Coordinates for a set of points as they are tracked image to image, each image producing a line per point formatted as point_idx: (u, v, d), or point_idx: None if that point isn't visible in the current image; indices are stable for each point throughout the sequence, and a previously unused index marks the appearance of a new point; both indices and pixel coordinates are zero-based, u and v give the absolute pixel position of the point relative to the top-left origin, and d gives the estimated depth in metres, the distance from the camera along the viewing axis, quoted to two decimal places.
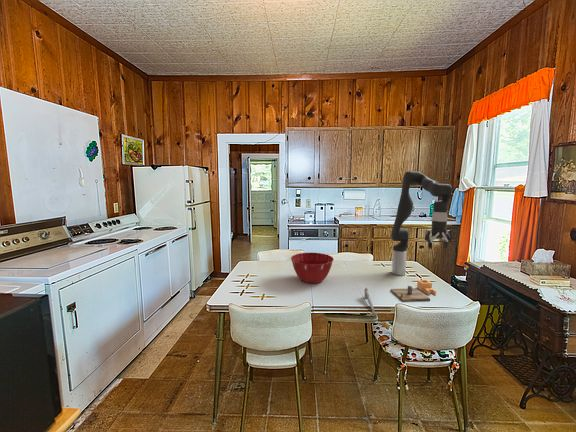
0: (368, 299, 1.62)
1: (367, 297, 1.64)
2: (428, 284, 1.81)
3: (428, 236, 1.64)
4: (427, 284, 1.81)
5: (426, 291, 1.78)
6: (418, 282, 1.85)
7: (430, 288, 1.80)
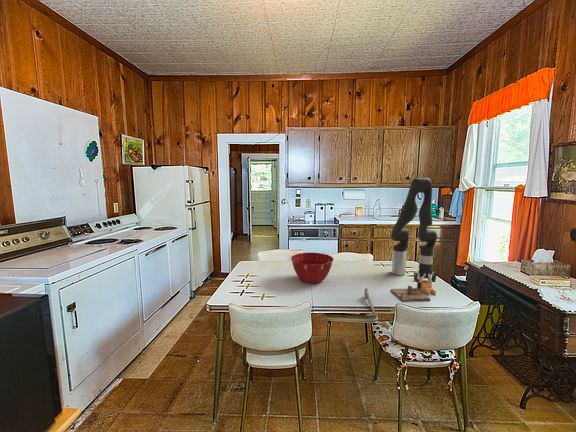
0: (368, 299, 1.62)
1: (367, 297, 1.64)
2: (428, 284, 1.81)
3: (416, 278, 1.82)
4: (427, 284, 1.81)
5: (426, 291, 1.78)
6: None
7: (430, 288, 1.80)
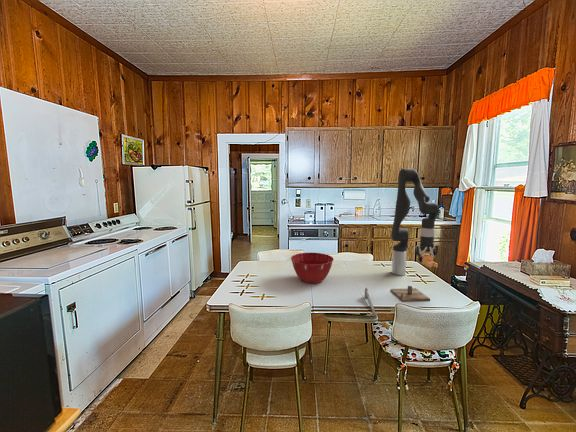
0: (368, 299, 1.62)
1: (367, 297, 1.64)
2: (429, 257, 1.79)
3: (418, 251, 1.79)
4: (428, 257, 1.79)
5: (428, 264, 1.75)
6: None
7: (432, 261, 1.77)
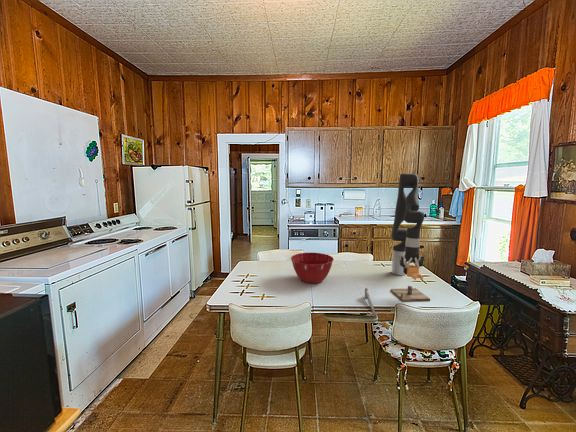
0: (368, 299, 1.62)
1: (367, 297, 1.64)
2: (415, 269, 1.69)
3: (402, 262, 1.70)
4: (413, 268, 1.69)
5: (412, 276, 1.66)
6: None
7: (417, 273, 1.68)
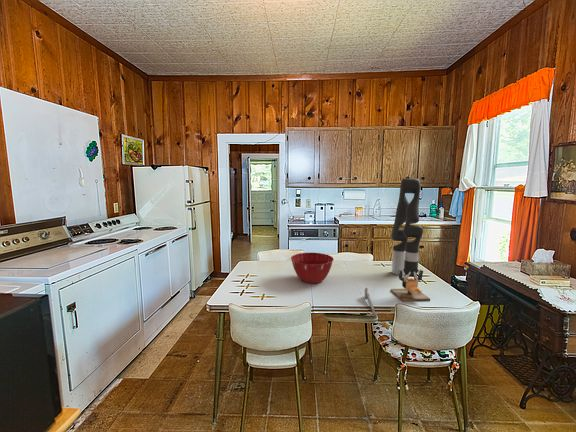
0: (368, 299, 1.62)
1: (367, 297, 1.64)
2: (413, 283, 1.70)
3: (401, 276, 1.71)
4: (412, 282, 1.70)
5: (411, 290, 1.67)
6: None
7: (415, 287, 1.69)
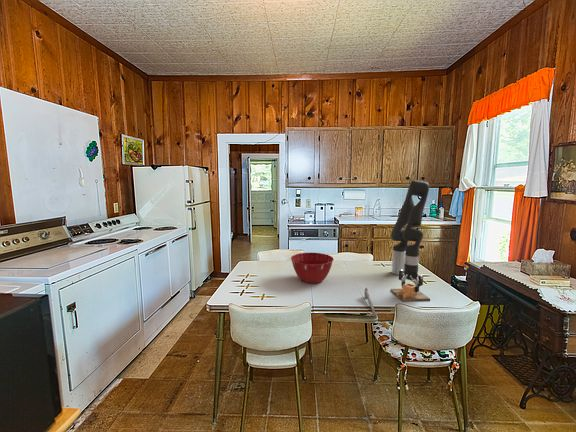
0: (368, 299, 1.62)
1: (367, 297, 1.64)
2: (408, 288, 1.71)
3: (399, 275, 1.78)
4: (406, 287, 1.72)
5: None
6: None
7: (407, 292, 1.70)
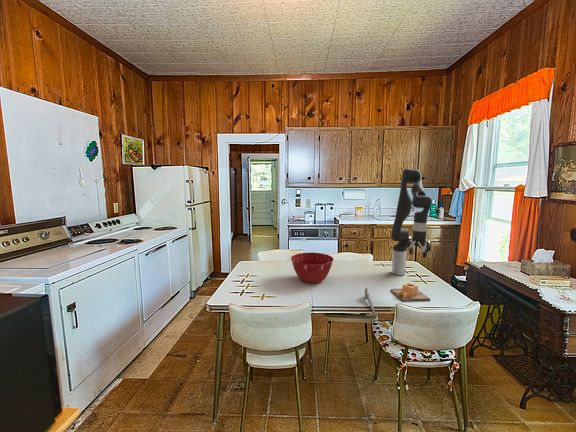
0: (368, 299, 1.62)
1: (367, 297, 1.64)
2: (408, 288, 1.71)
3: (407, 242, 1.81)
4: (406, 287, 1.72)
5: None
6: None
7: (407, 292, 1.70)
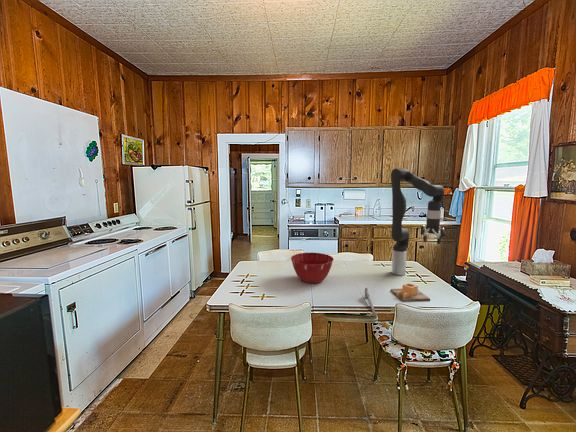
0: (368, 299, 1.62)
1: (367, 297, 1.64)
2: (408, 288, 1.71)
3: (421, 230, 1.90)
4: (406, 287, 1.72)
5: None
6: None
7: (407, 292, 1.70)
